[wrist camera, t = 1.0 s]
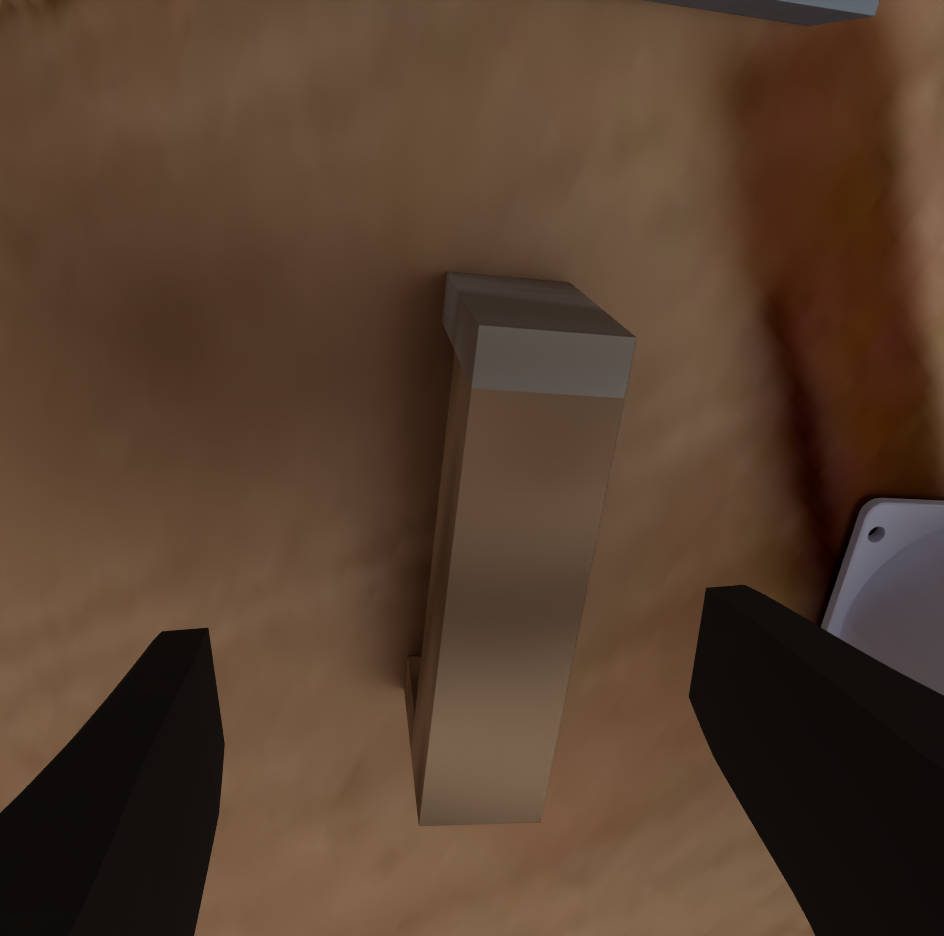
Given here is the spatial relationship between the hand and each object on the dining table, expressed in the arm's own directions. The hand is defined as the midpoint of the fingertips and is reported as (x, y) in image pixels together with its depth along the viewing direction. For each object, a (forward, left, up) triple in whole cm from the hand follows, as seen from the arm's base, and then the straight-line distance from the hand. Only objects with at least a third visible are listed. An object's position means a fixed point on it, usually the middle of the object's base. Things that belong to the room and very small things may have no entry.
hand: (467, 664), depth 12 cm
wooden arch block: (-2, -2, -10) cm, 10 cm away
